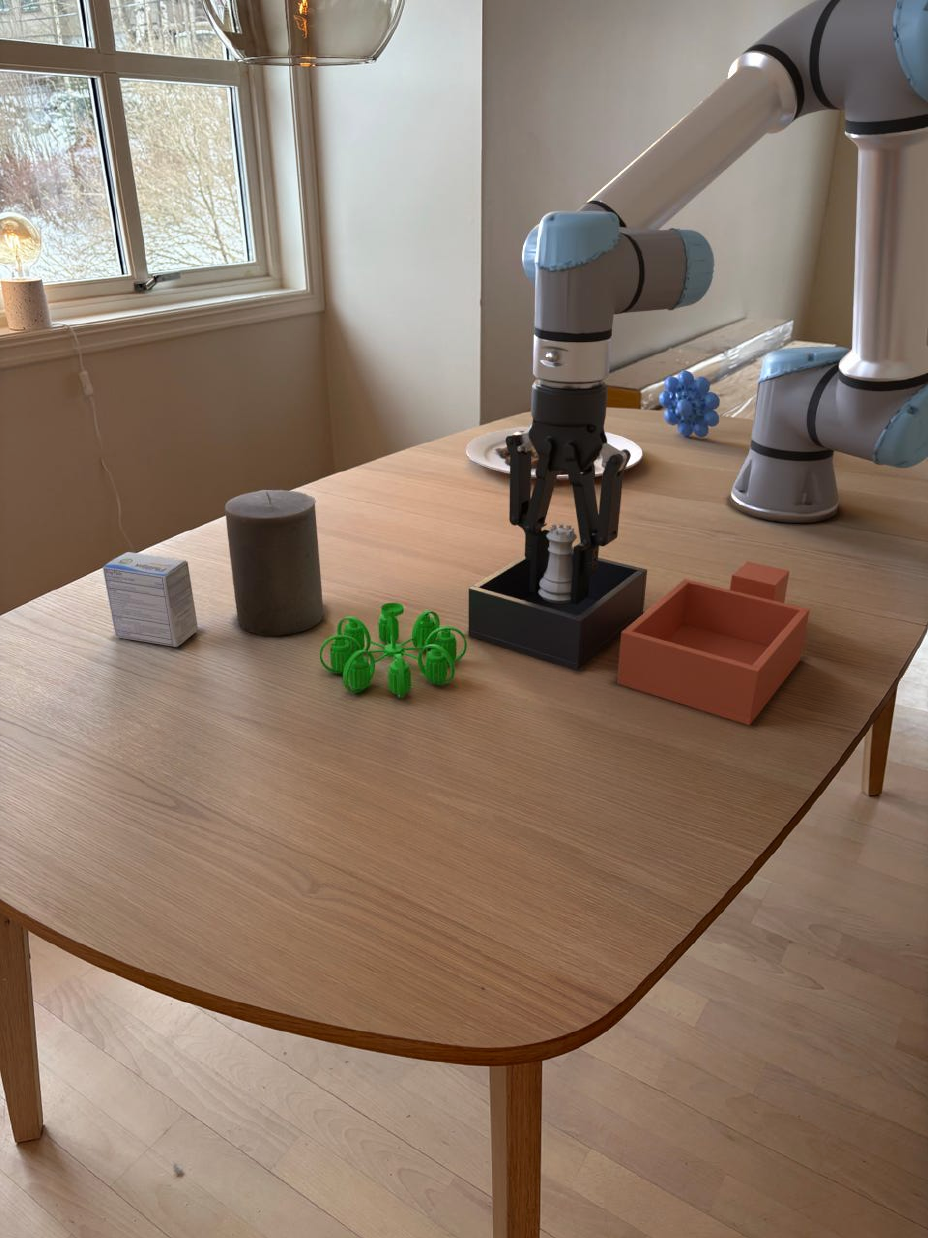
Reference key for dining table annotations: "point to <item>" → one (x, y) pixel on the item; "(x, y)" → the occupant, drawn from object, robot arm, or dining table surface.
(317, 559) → the pillar candle
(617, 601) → the charcoal bin
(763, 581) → the terracotta block
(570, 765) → the dining table surface
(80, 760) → the dining table surface
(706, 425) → the grapes
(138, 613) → the medicine box
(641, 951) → the dining table surface
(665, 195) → the robot arm
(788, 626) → the terracotta bin
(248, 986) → the dining table surface
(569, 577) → the rook chess piece
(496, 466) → the plated food
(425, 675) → the chandelier
